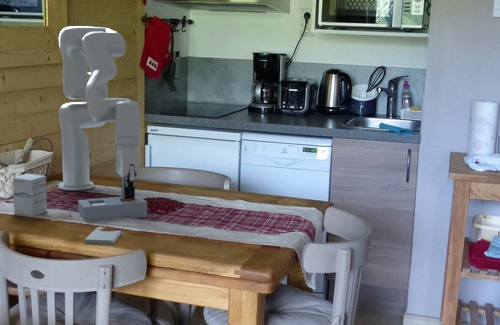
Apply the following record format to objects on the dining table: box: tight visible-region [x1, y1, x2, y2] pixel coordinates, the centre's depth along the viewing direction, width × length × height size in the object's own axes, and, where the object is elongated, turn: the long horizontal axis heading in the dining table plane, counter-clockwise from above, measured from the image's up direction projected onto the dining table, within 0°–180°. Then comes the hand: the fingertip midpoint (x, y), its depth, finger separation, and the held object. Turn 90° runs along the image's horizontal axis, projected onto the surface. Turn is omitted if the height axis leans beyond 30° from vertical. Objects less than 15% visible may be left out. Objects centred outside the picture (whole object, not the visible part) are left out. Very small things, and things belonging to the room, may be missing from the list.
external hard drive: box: [83, 226, 124, 245], centre depth 192 cm, size 2×8×12 cm
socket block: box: [77, 194, 148, 221], centre depth 212 cm, size 9×20×5 cm, turn 114°
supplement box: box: [12, 173, 48, 217], centre depth 210 cm, size 7×7×13 cm
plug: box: [120, 175, 135, 202], centre depth 213 cm, size 3×3×11 cm
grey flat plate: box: [46, 211, 75, 222], centre depth 207 cm, size 8×7×1 cm
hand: (128, 196), depth 213 cm, fingers closed on plug, 3 cm apart
